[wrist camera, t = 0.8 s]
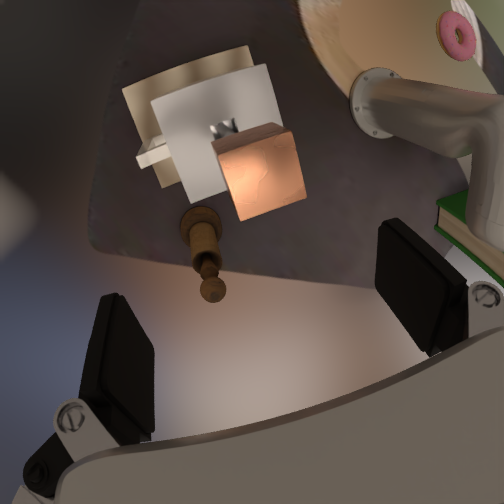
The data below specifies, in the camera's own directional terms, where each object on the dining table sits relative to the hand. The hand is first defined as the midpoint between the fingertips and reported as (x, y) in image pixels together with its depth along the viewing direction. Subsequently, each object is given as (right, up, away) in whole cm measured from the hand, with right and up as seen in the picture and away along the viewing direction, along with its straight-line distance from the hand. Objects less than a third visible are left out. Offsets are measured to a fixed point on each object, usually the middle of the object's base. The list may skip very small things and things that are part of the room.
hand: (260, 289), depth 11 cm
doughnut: (+38, +44, +28) cm, 65 cm away
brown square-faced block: (-4, +15, +21) cm, 26 cm away
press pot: (-8, +19, +29) cm, 36 cm away
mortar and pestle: (-9, +6, +39) cm, 40 cm away
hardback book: (+49, +13, +50) cm, 72 cm away
